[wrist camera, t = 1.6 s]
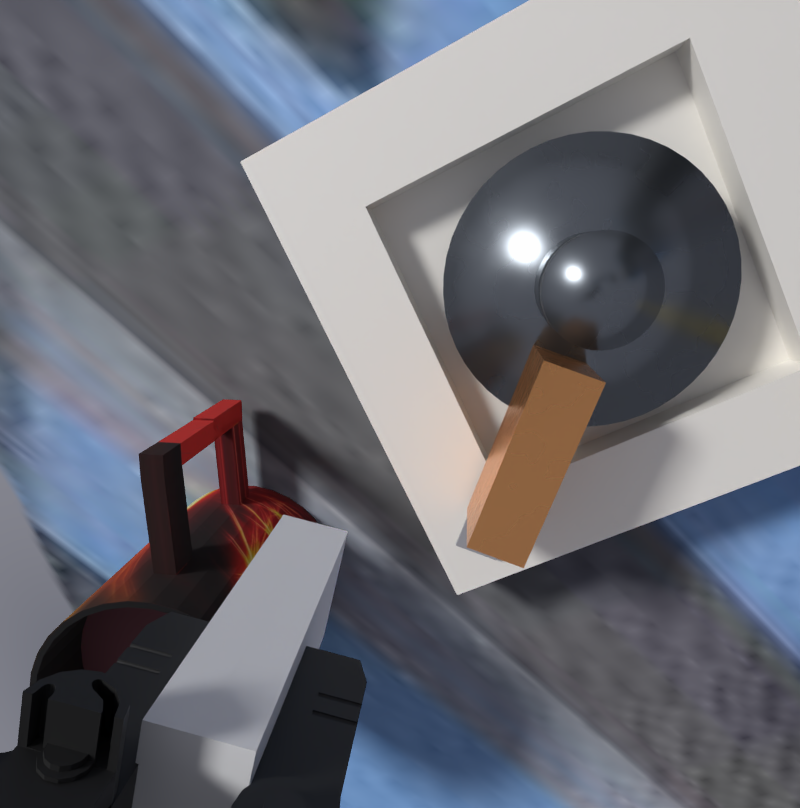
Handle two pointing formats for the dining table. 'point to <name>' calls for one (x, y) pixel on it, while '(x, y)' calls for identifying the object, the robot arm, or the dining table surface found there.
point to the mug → (175, 547)
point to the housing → (472, 167)
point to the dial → (582, 307)
